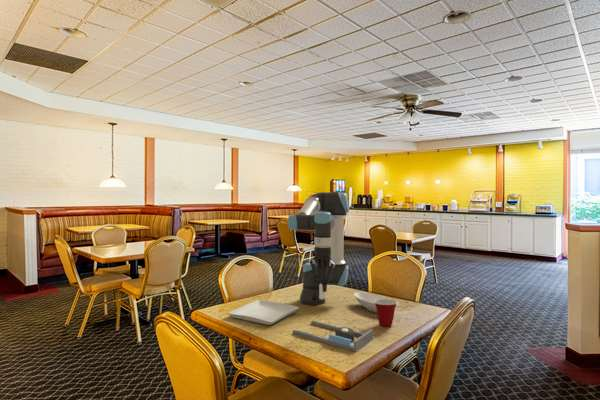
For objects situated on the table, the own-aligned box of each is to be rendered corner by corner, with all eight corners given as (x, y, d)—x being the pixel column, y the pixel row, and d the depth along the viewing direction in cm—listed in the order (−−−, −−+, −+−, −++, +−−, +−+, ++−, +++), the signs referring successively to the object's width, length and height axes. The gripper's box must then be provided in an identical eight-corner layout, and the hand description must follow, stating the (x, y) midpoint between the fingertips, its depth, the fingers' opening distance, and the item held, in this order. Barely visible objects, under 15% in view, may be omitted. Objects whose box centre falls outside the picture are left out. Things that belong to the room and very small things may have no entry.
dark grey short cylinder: (331, 340, 151) (331, 330, 151) (341, 334, 157) (341, 325, 157) (348, 345, 146) (348, 334, 146) (357, 339, 152) (357, 329, 152)
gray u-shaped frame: (292, 333, 158) (292, 324, 158) (312, 323, 171) (312, 315, 171) (355, 352, 139) (355, 342, 139) (372, 339, 152) (373, 329, 152)
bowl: (405, 315, 185) (405, 303, 185) (385, 320, 177) (385, 308, 177) (365, 301, 210) (365, 290, 210) (346, 305, 202) (346, 294, 202)
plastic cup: (388, 320, 176) (388, 296, 176) (401, 328, 166) (401, 302, 166) (369, 323, 172) (369, 298, 172) (382, 330, 162) (382, 305, 162)
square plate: (258, 305, 201) (258, 298, 201) (300, 313, 187) (300, 306, 187) (226, 319, 177) (226, 311, 177) (271, 329, 164) (271, 321, 164)
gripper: (306, 246, 159) (305, 297, 159) (330, 248, 151) (330, 303, 152) (315, 244, 165) (314, 294, 166) (339, 246, 157) (339, 299, 158)
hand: (322, 298), depth 159 cm, fingers closed
